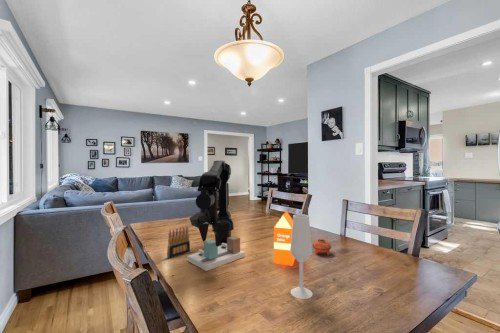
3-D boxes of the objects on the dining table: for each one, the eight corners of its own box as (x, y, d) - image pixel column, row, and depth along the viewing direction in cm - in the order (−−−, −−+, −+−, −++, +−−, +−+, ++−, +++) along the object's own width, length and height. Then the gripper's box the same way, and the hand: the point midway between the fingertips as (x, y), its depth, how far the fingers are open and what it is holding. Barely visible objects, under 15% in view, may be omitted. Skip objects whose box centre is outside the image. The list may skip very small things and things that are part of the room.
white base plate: (224, 248, 113) (224, 232, 113) (244, 256, 103) (244, 238, 103) (187, 260, 99) (187, 241, 99) (206, 271, 89) (206, 249, 89)
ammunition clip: (169, 258, 102) (169, 230, 102) (167, 257, 103) (166, 230, 103) (190, 251, 110) (189, 225, 110) (187, 250, 111) (187, 225, 111)
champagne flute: (288, 287, 77) (287, 213, 77) (308, 286, 77) (308, 213, 77) (293, 299, 70) (293, 218, 70) (315, 298, 70) (315, 217, 70)
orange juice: (296, 257, 102) (295, 211, 102) (292, 265, 94) (292, 215, 94) (278, 255, 104) (278, 210, 104) (273, 263, 96) (273, 214, 96)
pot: (334, 252, 107) (333, 238, 106) (327, 261, 102) (326, 246, 101) (318, 247, 113) (317, 234, 111) (310, 255, 107) (309, 242, 106)
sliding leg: (203, 251, 103) (203, 236, 103) (217, 257, 95) (217, 241, 95) (195, 254, 100) (195, 238, 100) (209, 260, 93) (209, 243, 93)
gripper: (180, 204, 96) (180, 243, 96) (206, 210, 83) (207, 255, 83) (203, 201, 104) (203, 237, 104) (231, 206, 91) (231, 247, 91)
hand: (210, 243), depth 95 cm, fingers open, 9 cm apart
